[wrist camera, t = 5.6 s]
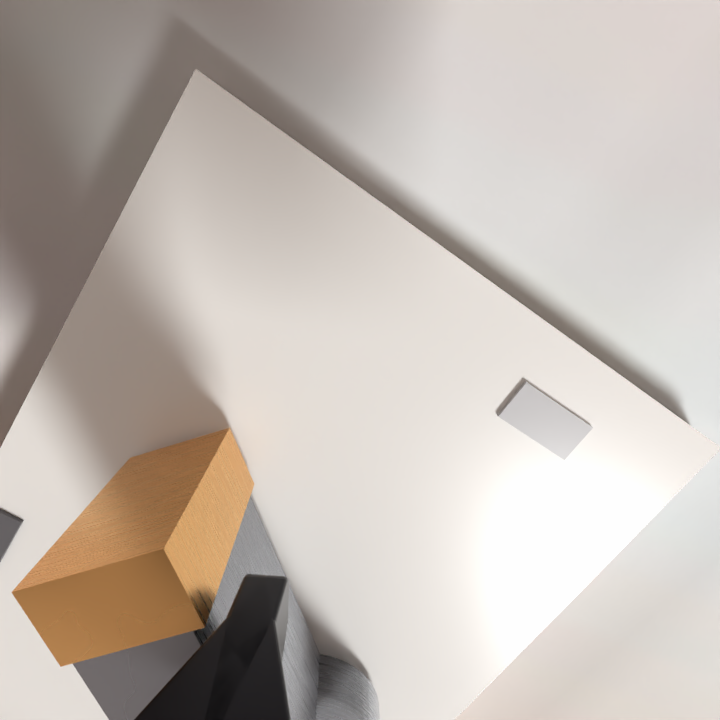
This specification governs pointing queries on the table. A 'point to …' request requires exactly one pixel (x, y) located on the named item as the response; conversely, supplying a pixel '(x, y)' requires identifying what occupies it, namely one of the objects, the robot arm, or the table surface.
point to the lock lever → (172, 584)
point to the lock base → (334, 418)
